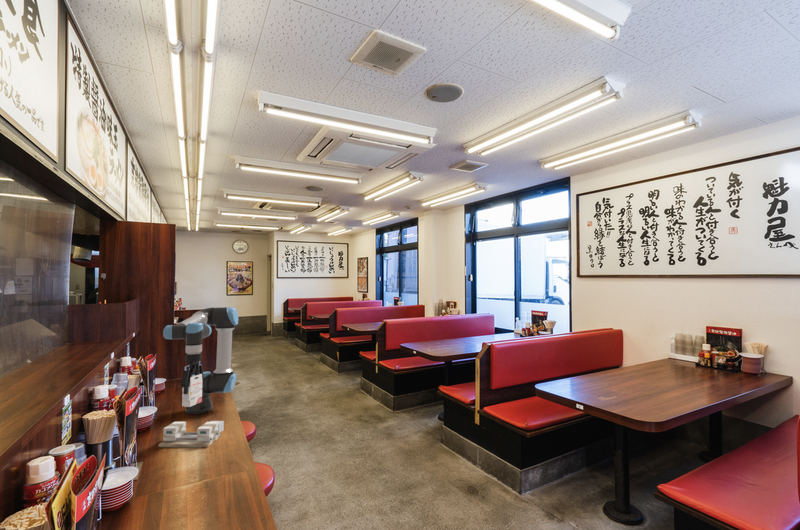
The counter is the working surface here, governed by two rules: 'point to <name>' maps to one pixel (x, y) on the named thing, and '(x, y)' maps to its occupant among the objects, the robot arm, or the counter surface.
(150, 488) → the counter surface
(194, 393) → the ink cartridge box
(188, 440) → the mounting board
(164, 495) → the counter surface
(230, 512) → the counter surface
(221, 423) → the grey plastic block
